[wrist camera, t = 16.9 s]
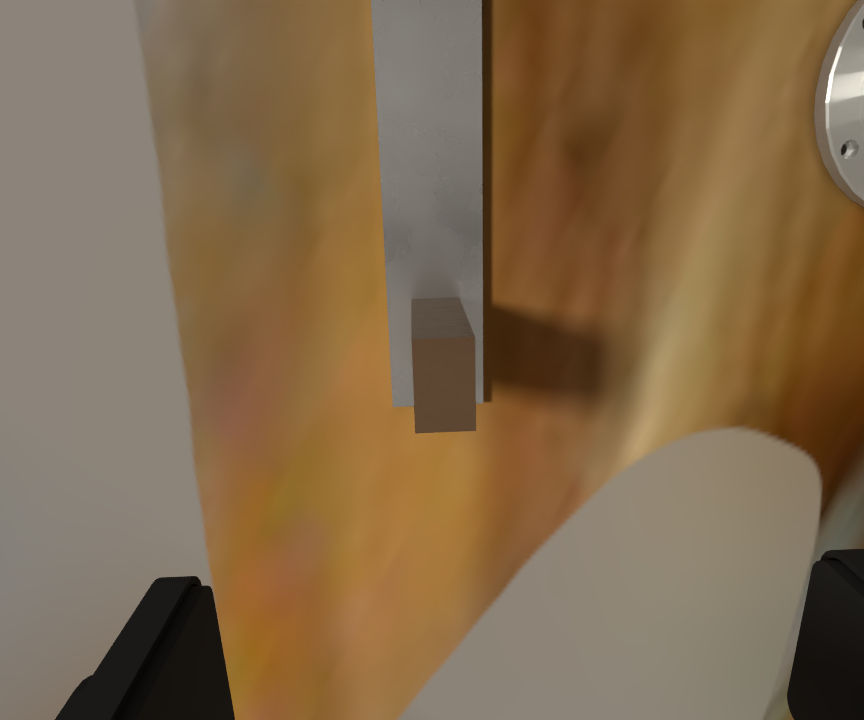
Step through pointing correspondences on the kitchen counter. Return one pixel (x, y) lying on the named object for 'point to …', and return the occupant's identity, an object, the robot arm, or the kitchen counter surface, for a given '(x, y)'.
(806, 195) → the kitchen counter surface
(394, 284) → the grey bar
